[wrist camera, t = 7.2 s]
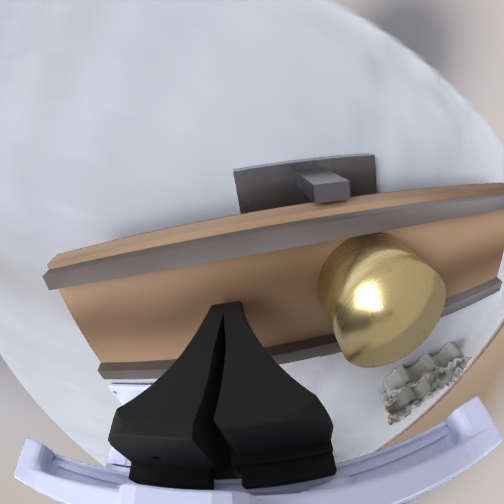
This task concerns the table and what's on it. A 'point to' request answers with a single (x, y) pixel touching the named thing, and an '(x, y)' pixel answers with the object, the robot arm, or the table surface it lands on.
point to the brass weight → (379, 298)
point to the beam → (266, 272)
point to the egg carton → (433, 380)
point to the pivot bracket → (305, 182)
